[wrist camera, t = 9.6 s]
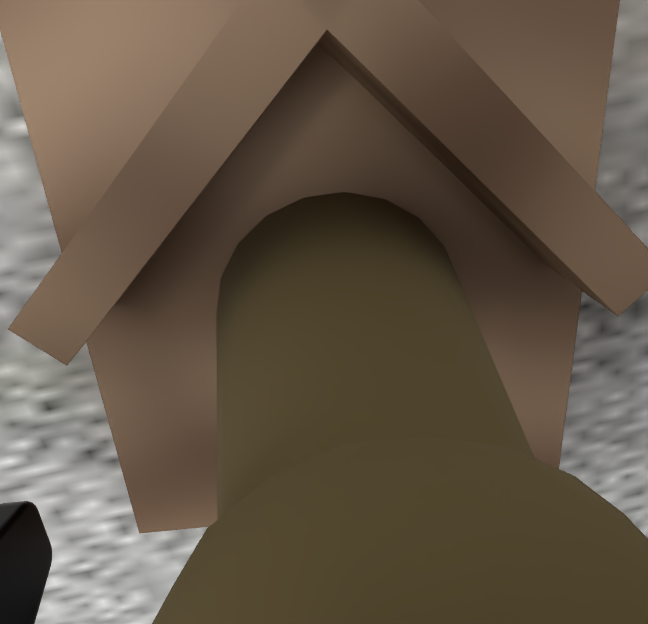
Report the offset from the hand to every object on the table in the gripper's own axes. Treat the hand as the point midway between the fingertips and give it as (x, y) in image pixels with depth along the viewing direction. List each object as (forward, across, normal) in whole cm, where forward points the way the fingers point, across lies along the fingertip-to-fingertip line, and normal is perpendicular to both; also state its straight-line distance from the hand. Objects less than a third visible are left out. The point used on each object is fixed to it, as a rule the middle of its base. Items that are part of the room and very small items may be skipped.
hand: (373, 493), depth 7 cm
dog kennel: (+8, 0, 0) cm, 8 cm away
